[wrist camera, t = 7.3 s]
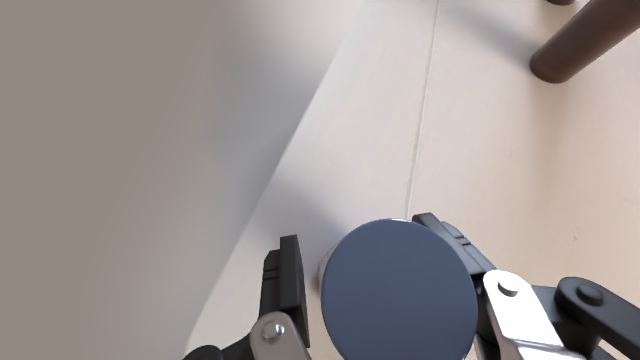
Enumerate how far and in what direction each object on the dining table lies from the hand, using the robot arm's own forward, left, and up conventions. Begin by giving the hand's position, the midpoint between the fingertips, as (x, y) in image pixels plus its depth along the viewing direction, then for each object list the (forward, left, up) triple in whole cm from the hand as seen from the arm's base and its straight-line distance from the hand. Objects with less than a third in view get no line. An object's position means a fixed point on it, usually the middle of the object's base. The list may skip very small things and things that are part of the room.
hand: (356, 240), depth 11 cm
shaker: (+1, -2, -4) cm, 5 cm away
